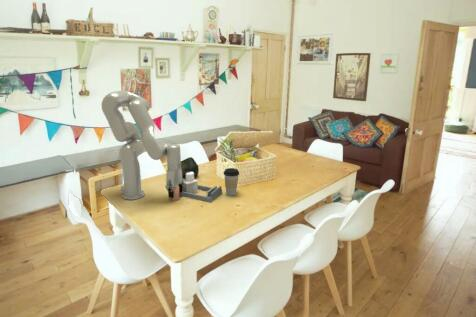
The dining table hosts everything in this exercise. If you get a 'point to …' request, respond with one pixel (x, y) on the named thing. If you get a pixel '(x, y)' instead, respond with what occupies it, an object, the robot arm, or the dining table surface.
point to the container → (189, 182)
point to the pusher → (211, 191)
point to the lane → (212, 197)
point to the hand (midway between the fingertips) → (175, 194)
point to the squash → (189, 166)
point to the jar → (175, 193)
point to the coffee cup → (231, 181)
